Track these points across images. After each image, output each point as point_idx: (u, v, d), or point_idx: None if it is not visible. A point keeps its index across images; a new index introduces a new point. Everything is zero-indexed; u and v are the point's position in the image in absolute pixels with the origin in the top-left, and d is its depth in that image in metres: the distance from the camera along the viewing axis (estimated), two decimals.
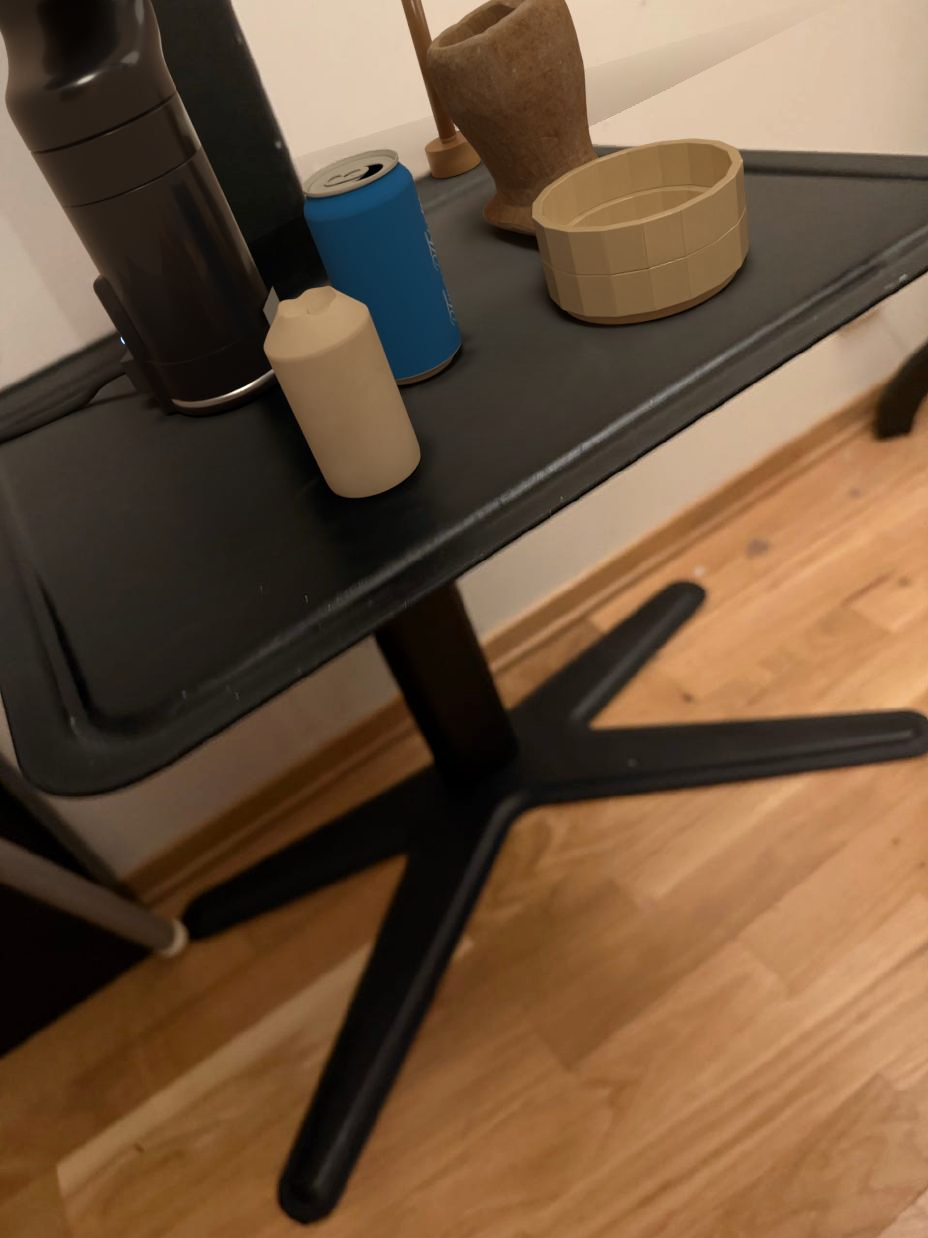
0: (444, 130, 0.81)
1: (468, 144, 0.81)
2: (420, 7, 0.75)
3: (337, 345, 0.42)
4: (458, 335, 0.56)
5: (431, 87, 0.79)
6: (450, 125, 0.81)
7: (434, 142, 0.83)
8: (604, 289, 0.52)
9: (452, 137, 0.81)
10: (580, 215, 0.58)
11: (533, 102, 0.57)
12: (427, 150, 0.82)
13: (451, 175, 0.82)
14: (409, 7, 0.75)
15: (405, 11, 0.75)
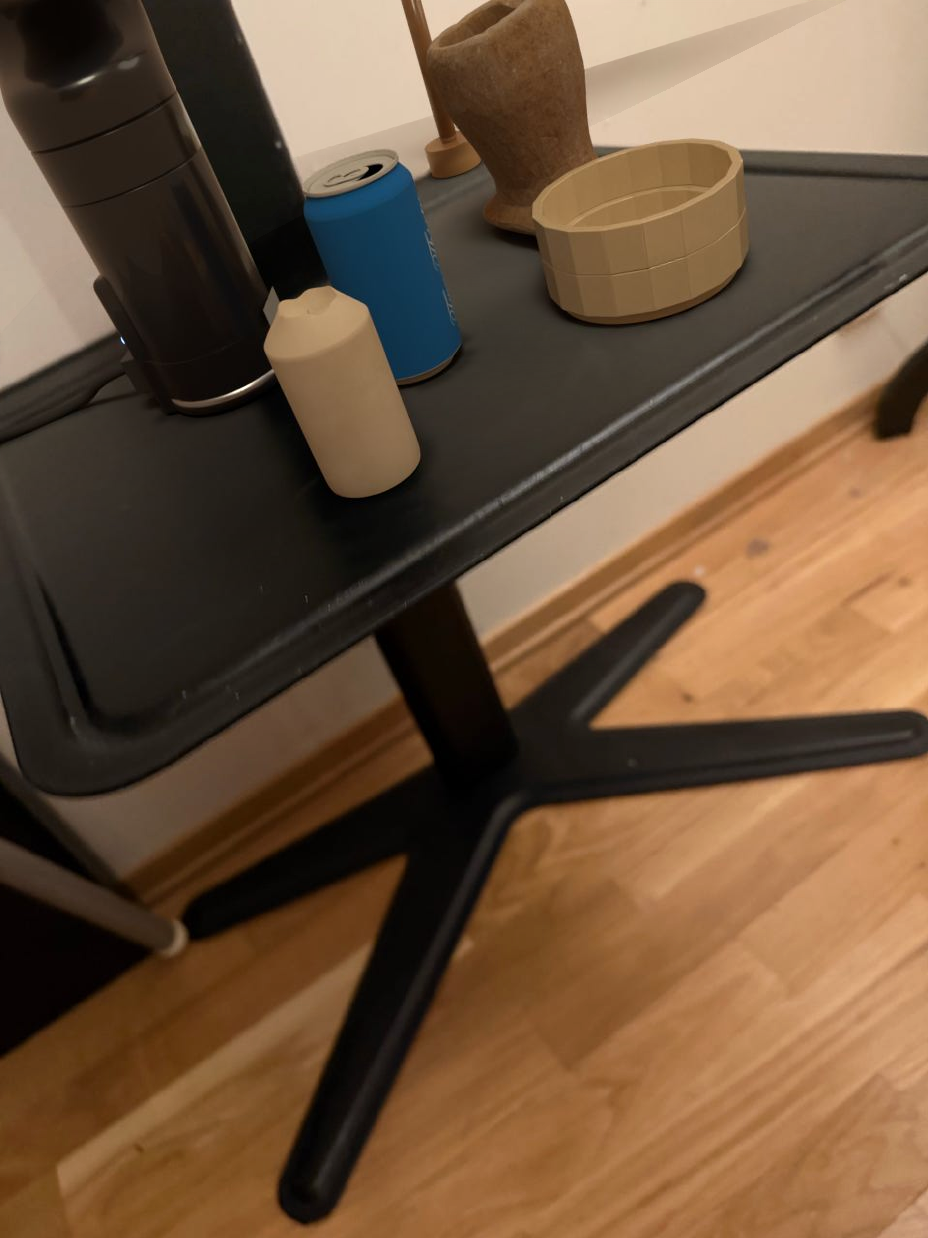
0: (444, 130, 0.81)
1: (468, 144, 0.81)
2: (420, 7, 0.75)
3: (337, 345, 0.42)
4: (458, 335, 0.56)
5: (431, 87, 0.79)
6: (450, 125, 0.81)
7: (434, 142, 0.83)
8: (604, 289, 0.52)
9: (452, 137, 0.81)
10: (580, 215, 0.58)
11: (533, 102, 0.57)
12: (427, 150, 0.82)
13: (451, 175, 0.82)
14: (409, 7, 0.75)
15: (405, 11, 0.75)
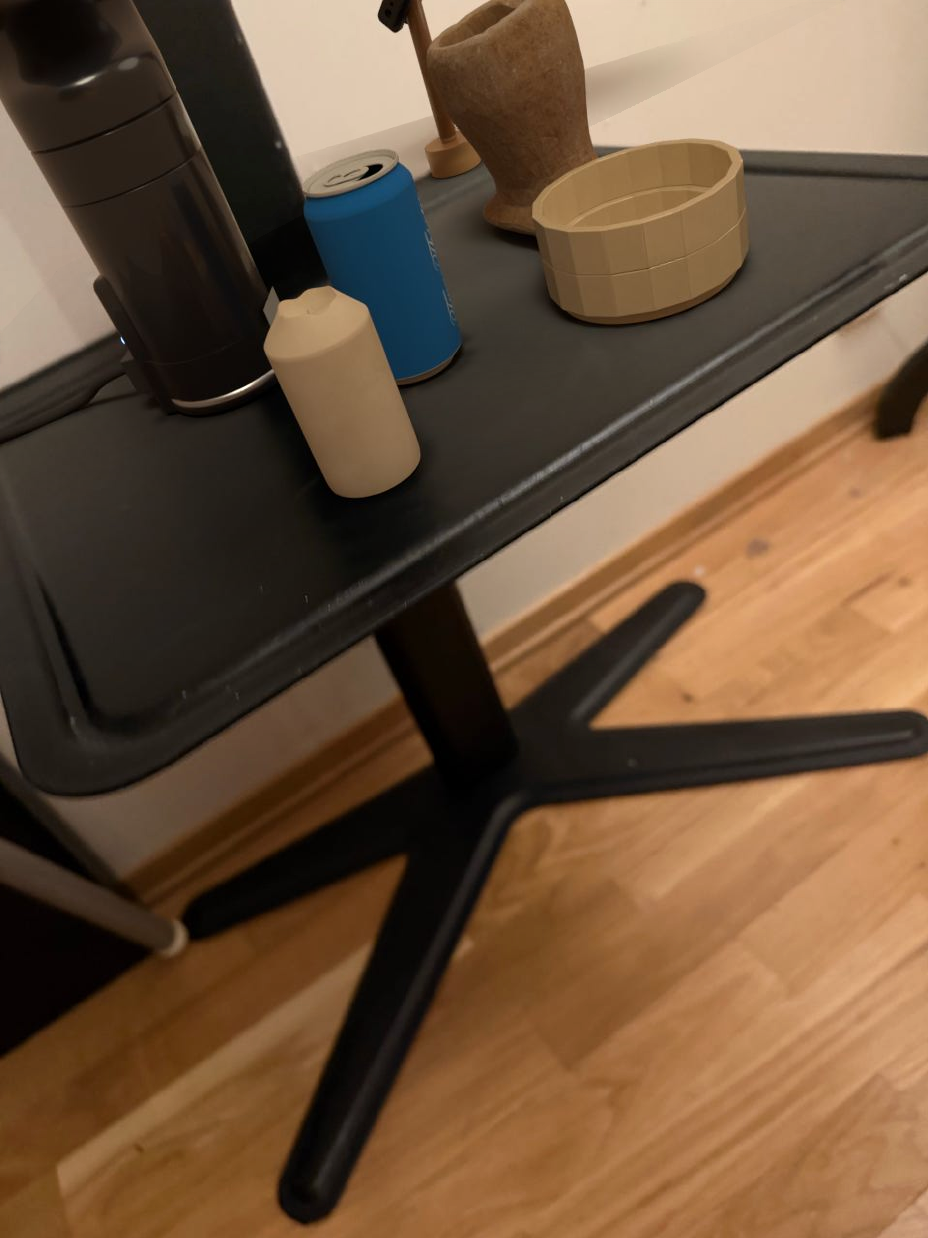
0: (444, 130, 0.81)
1: (468, 144, 0.81)
2: (420, 7, 0.75)
3: (337, 345, 0.42)
4: (458, 335, 0.56)
5: (431, 87, 0.79)
6: (450, 125, 0.81)
7: (434, 142, 0.83)
8: (604, 289, 0.52)
9: (452, 137, 0.81)
10: (580, 215, 0.58)
11: (533, 102, 0.57)
12: (427, 150, 0.82)
13: (451, 175, 0.82)
14: None
15: None
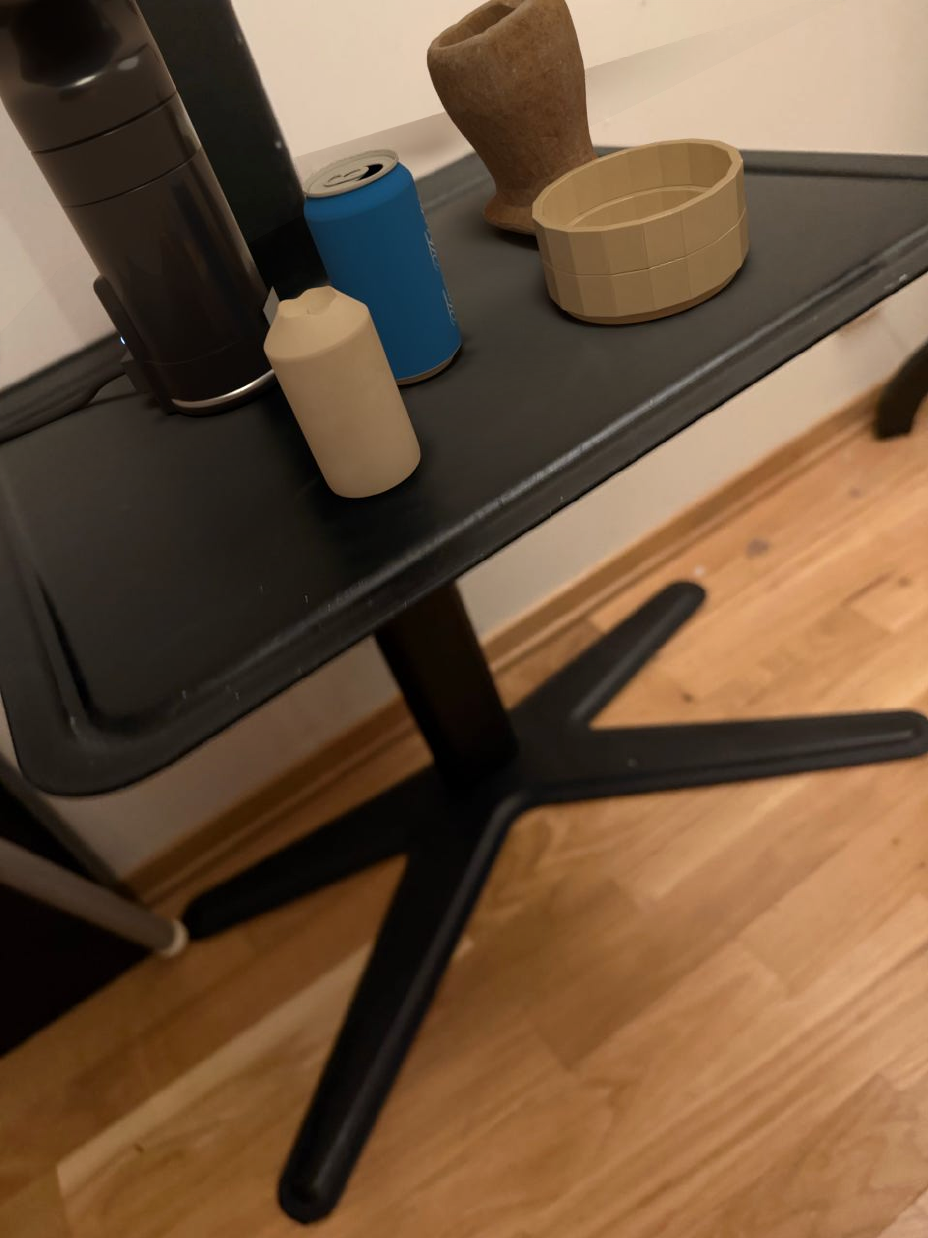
0: None
1: None
2: None
3: (337, 345, 0.42)
4: (458, 335, 0.56)
5: None
6: None
7: None
8: (604, 289, 0.52)
9: None
10: (580, 215, 0.58)
11: (533, 102, 0.57)
12: None
13: None
14: None
15: None
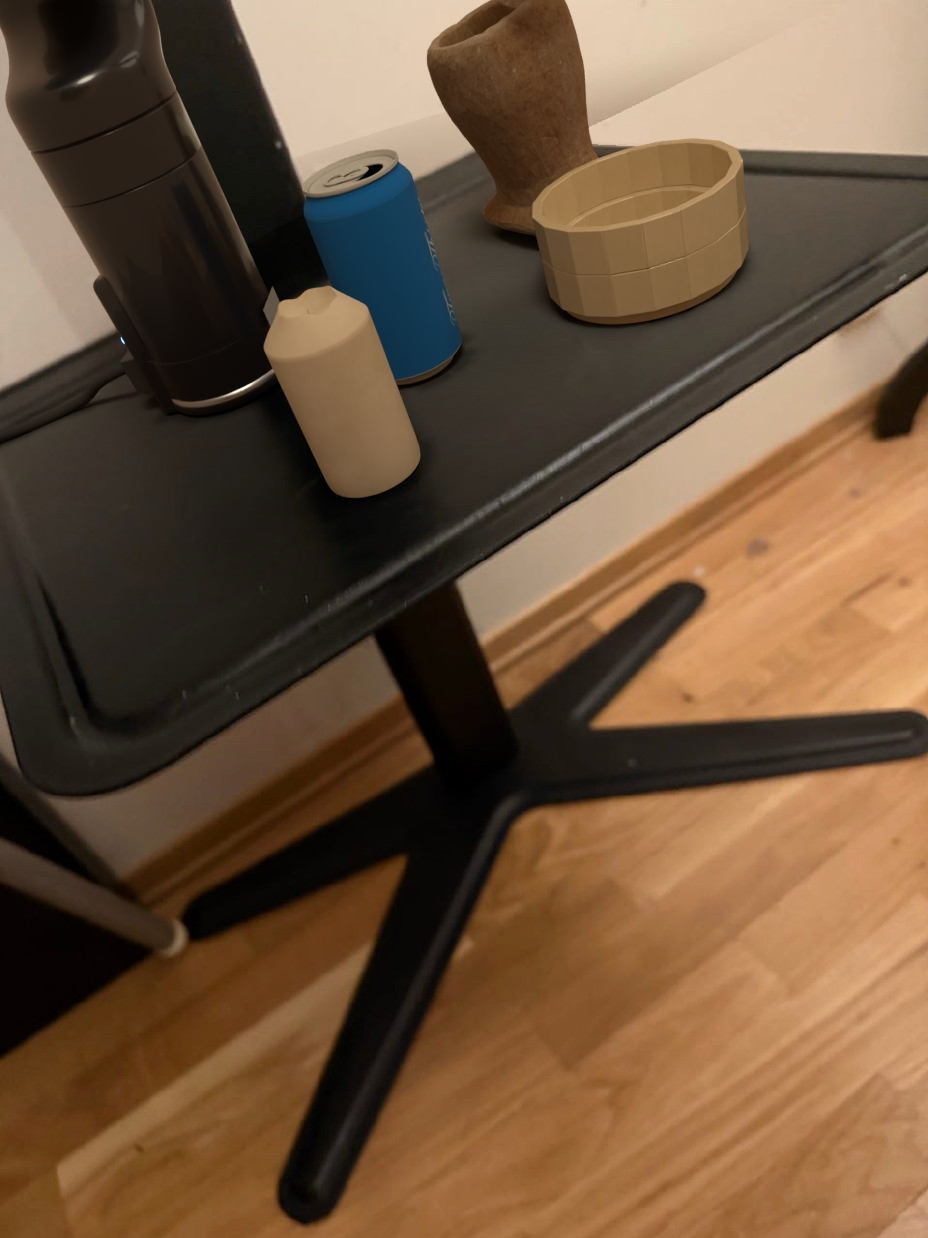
0: None
1: None
2: None
3: (337, 345, 0.42)
4: (458, 335, 0.56)
5: None
6: None
7: None
8: (604, 289, 0.52)
9: None
10: (580, 215, 0.58)
11: (533, 102, 0.57)
12: None
13: None
14: None
15: None
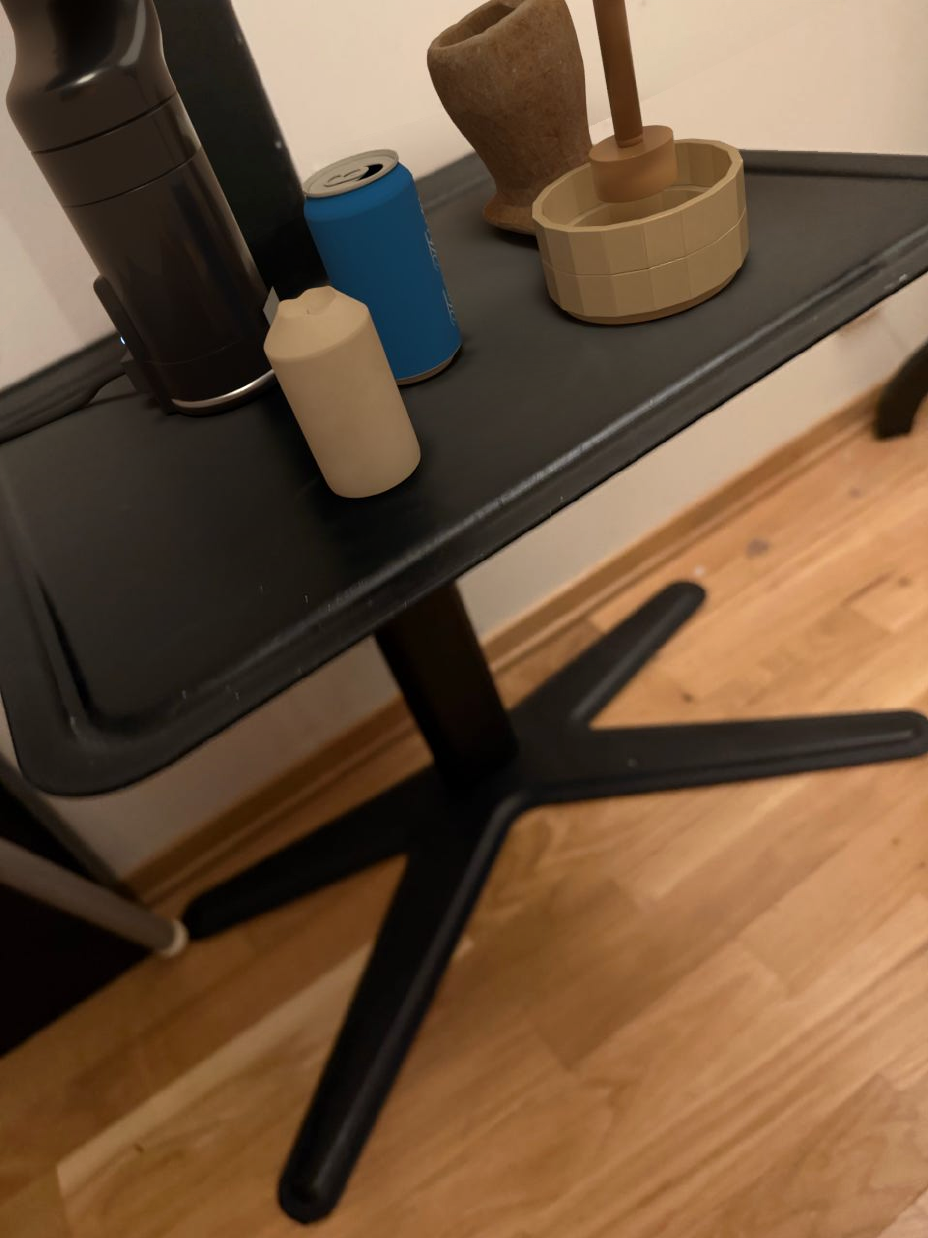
0: (626, 126, 0.50)
1: (666, 148, 0.50)
2: None
3: (337, 345, 0.42)
4: (458, 335, 0.56)
5: (613, 55, 0.48)
6: (636, 118, 0.50)
7: (603, 146, 0.52)
8: (604, 289, 0.52)
9: (637, 138, 0.51)
10: (580, 215, 0.58)
11: (533, 102, 0.57)
12: (596, 159, 0.51)
13: (634, 199, 0.51)
14: None
15: None
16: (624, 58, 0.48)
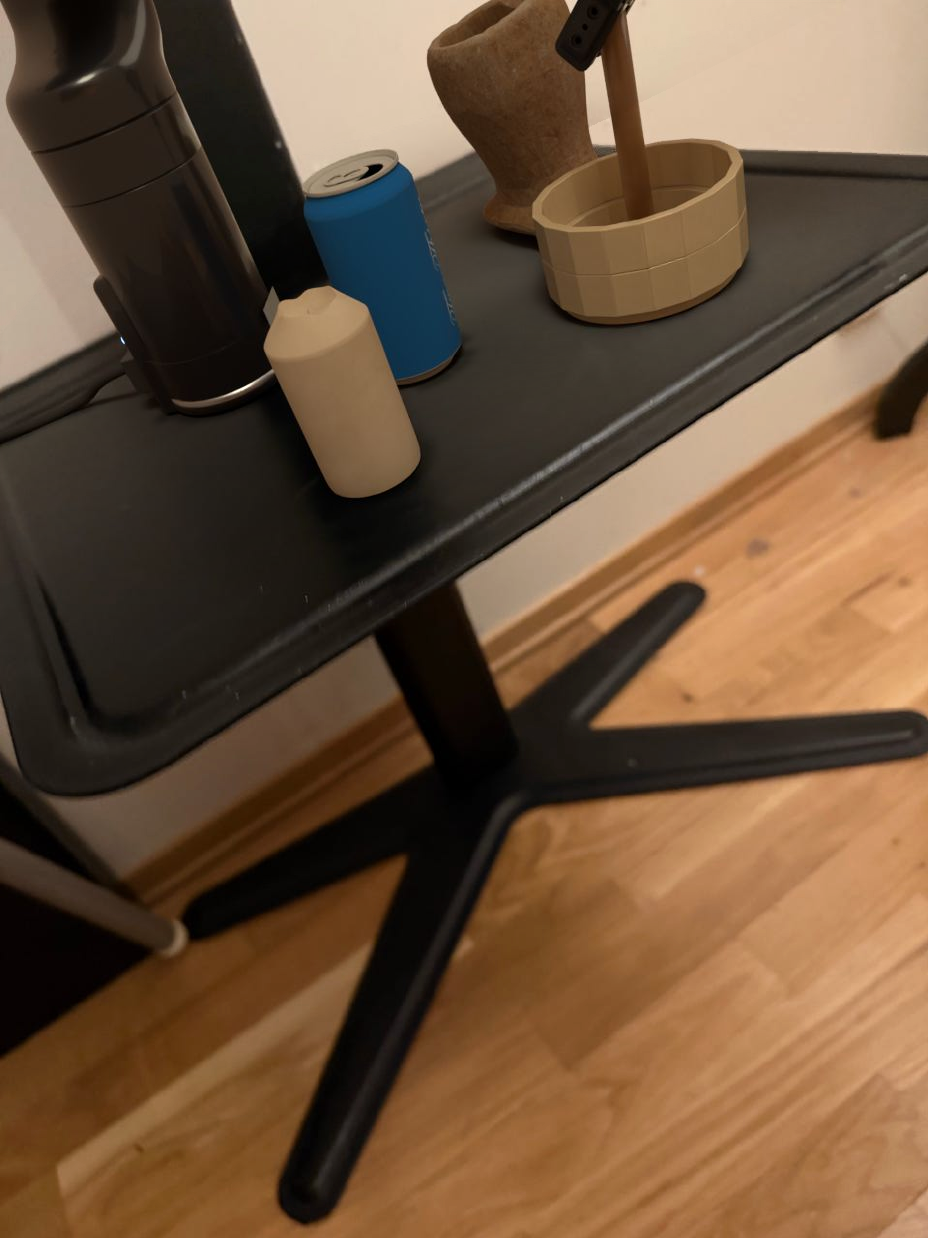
0: (639, 215, 0.53)
1: None
2: (625, 32, 0.47)
3: (337, 345, 0.42)
4: (458, 335, 0.56)
5: (628, 153, 0.51)
6: (649, 208, 0.53)
7: None
8: (604, 289, 0.52)
9: None
10: (580, 215, 0.58)
11: (533, 102, 0.57)
12: None
13: None
14: None
15: None
16: (638, 155, 0.51)
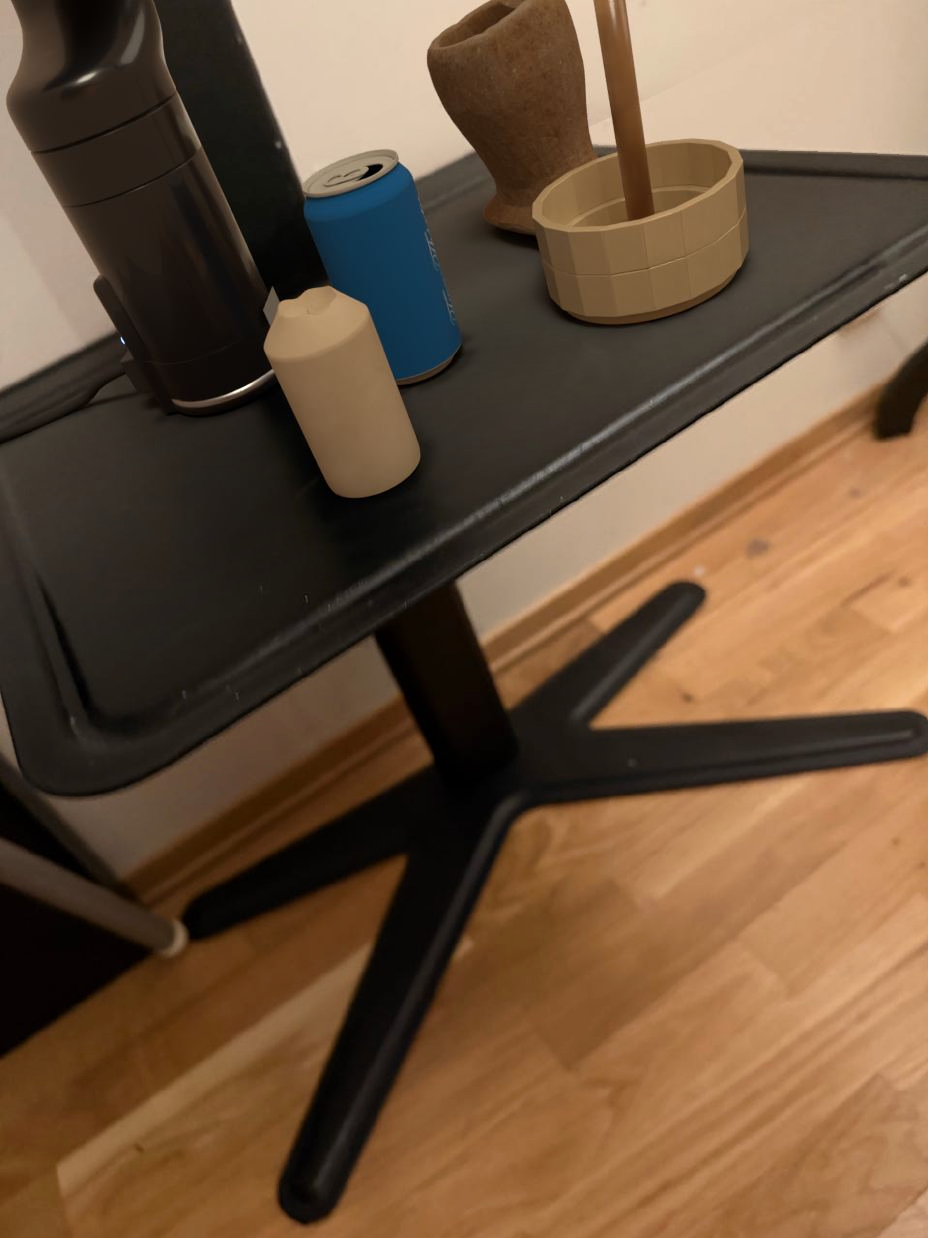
0: (640, 216, 0.53)
1: None
2: (626, 32, 0.47)
3: (337, 345, 0.42)
4: (458, 335, 0.56)
5: (629, 153, 0.51)
6: (649, 208, 0.53)
7: None
8: (604, 289, 0.52)
9: None
10: (580, 215, 0.58)
11: (533, 102, 0.57)
12: None
13: None
14: (611, 32, 0.47)
15: (602, 38, 0.47)
16: (638, 155, 0.51)
